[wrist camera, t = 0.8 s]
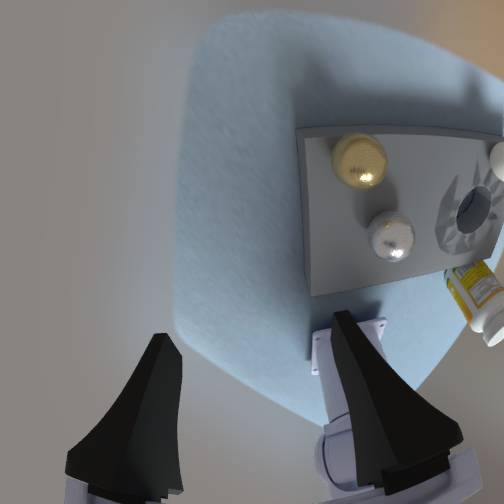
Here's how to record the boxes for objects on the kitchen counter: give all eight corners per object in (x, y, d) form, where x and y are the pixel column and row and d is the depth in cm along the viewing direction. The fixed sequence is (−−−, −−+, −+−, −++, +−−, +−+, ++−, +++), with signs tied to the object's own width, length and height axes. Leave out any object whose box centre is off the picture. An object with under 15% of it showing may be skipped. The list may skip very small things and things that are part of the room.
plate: (477, 243, 21) (490, 257, 19) (304, 275, 22) (310, 297, 20) (502, 136, 14) (521, 146, 12) (295, 128, 15) (304, 138, 13)
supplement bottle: (456, 247, 22) (507, 317, 14) (483, 249, 22) (529, 310, 14) (435, 287, 25) (474, 356, 17) (463, 285, 25) (500, 346, 18)
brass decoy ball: (372, 174, 14) (395, 197, 12) (324, 179, 15) (341, 203, 12) (372, 126, 13) (400, 140, 10) (322, 128, 13) (341, 142, 10)
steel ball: (397, 238, 17) (418, 268, 15) (358, 245, 18) (375, 276, 15) (404, 199, 15) (429, 226, 13) (361, 203, 16) (383, 232, 13)
